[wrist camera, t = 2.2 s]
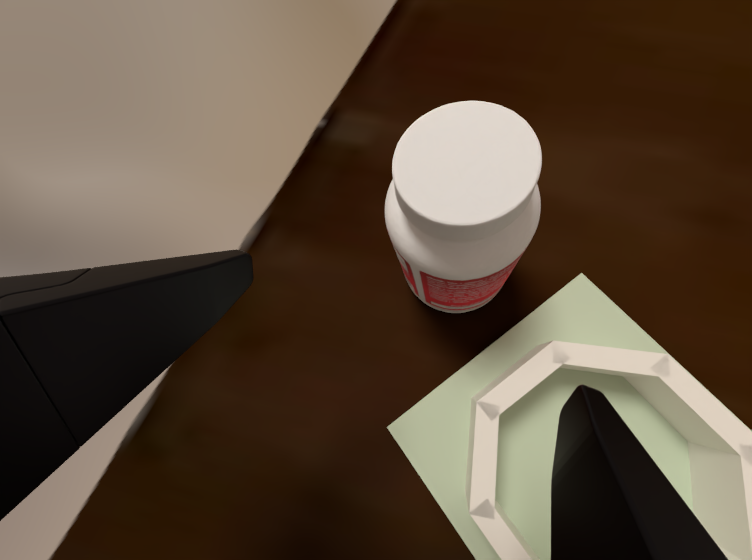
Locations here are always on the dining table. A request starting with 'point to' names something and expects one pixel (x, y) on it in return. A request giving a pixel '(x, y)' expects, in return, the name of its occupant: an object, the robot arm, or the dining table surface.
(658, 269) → the dining table surface
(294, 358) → the dining table surface
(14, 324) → the robot arm
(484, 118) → the pill bottle
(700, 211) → the dining table surface
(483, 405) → the octagonal tray
